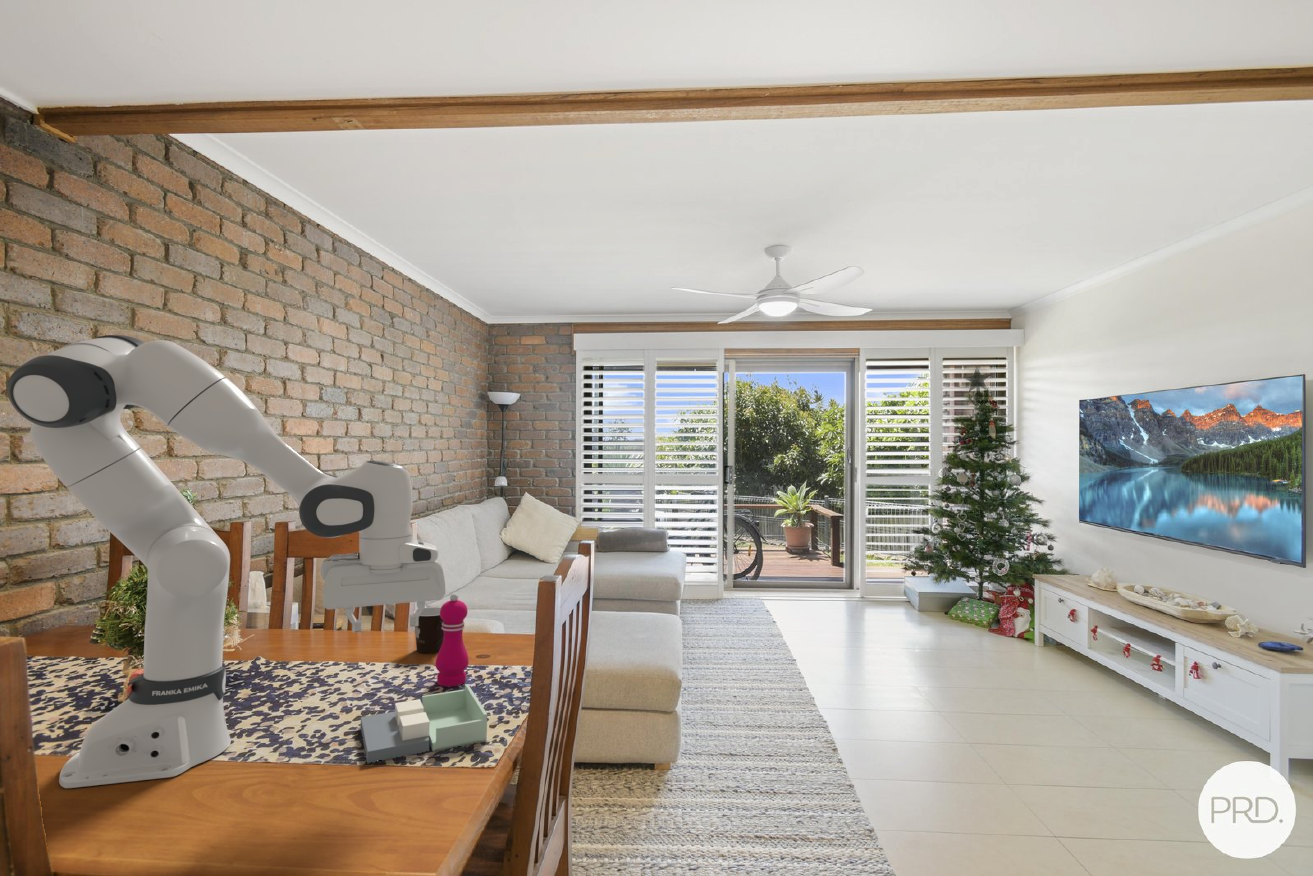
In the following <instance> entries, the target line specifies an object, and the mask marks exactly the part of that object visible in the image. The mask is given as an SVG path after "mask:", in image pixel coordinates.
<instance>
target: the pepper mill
mask: <svg viewBox="0 0 1313 876" xmlns="http://www.w3.org/2000/svg"><path fill="white" fill-rule="evenodd" d="M449 599H450V600H448V601H446V602H444V603H443V604H442V605H441V606H440V607H441V609H440V617H441V619H442V620H443V621H444V622H442V629H443V630H444V637H443V643H442V646H441V648H440V650H439V652H438V653H437V655H436V658H435V663H434V666H435V669H436V670H437V671H438V674H437V677H436V682H437V685H438V686H441V687H444V688H445V687H447V688H448V687H449V688H452V687H458V686H460V685H463V684H465V682H466V681H467V672H466V671H465V670H466V669H467V668H468V666H469V663H470V661H469V658H470V657H469V654H468V651H467V649H466V646H465V643H464V640H463V630H464V629H465V627H466V626H465V623H466V621H464V620H465V619H466V617H467V616H468V607H467V605H466V603H465V602H463V601H462V600H459V594H457V593H452V594H451V595H450V597H449Z"/></svg>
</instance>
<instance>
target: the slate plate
mask: <svg viewBox="0 0 1313 876" xmlns="http://www.w3.org/2000/svg"><path fill="white" fill-rule="evenodd" d="M360 732H362V733H361V737H363V738H362V744H363V748H364V753H365V758H366V762H367V764H372V763H376V762H375V761H377V760H382V761H387V760H391V759H397V758H396V757H398V758H402V757H401V756H403V757H407V756H406V755H408V756H413V755H417V753H418V754H422V752H423V753H427V752H426V751H428V752H430V744H429V738H428V736H424V737H419V738H414V739H408V740H403V741H402V737H401V734H400V731H399V726H398V725H397V722H396V718H395V711H390V712H385V713H384V712H383V713H377V714H371V715H370V714H369V715H364V716H361V717H360ZM371 762H372V763H371ZM377 762H378V761H377Z"/></svg>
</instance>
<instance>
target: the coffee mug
mask: <svg viewBox="0 0 1313 876" xmlns="http://www.w3.org/2000/svg"><path fill="white" fill-rule="evenodd" d="M441 607H442V606H439V607H438V606H430V607H429V606H428V607H425V608H424V610H423V611H422V613H421V615H420V616H419V620H418V626H414V633H415V634H414V636H415V644H416V652H417V653H419V654H420V655H421V654H423V655H432V654H438V653H439V650H440V648H441V646H442V643H443V637H444V630H443V629H442V622H444V621H443V620H442V619H441V617H440V609H441ZM416 611H417V609H415V610H414V611H413V614H412V615H414V614H415V612H416Z"/></svg>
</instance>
